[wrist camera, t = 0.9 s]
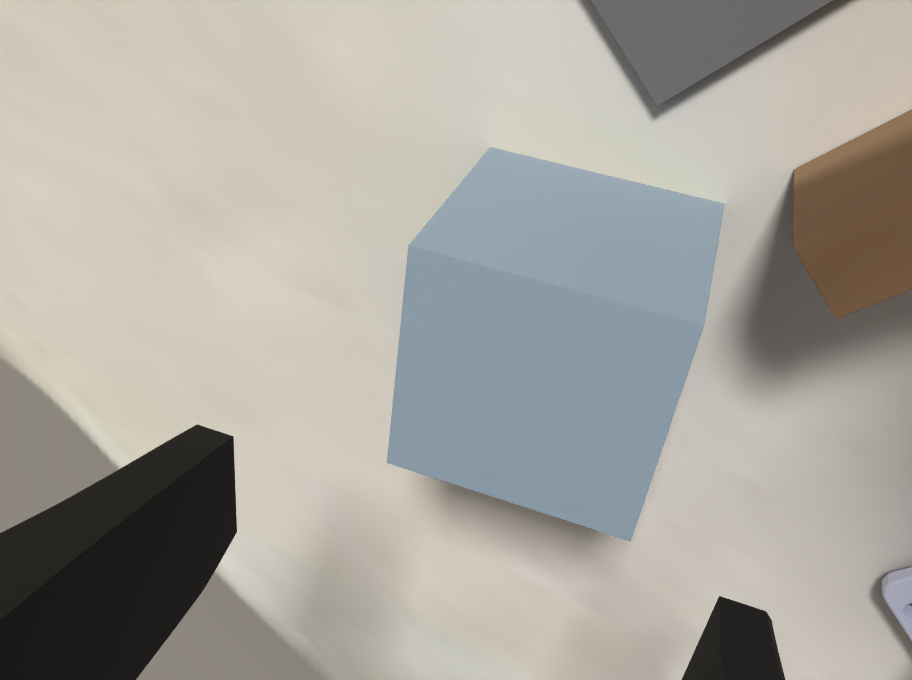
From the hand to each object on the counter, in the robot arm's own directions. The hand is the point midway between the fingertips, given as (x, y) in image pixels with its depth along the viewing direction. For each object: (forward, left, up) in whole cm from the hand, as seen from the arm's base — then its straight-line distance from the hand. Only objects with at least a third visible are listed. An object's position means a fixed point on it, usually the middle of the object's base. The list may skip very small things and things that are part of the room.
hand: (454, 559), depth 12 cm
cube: (0, 0, -9) cm, 9 cm away
